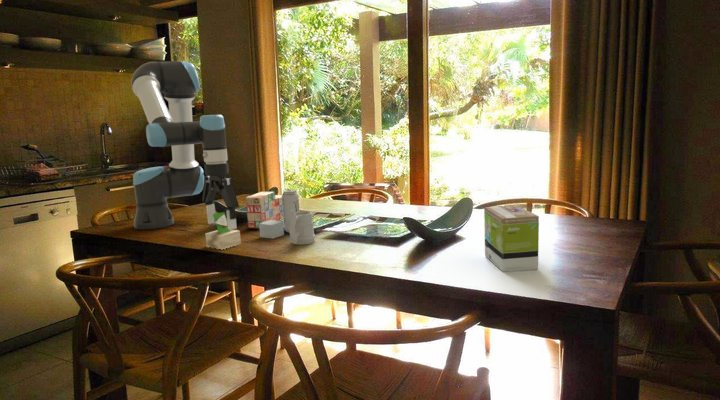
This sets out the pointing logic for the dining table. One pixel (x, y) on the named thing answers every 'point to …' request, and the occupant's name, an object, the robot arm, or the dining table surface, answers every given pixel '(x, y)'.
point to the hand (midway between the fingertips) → (222, 226)
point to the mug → (301, 228)
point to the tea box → (511, 238)
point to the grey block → (271, 229)
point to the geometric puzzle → (221, 222)
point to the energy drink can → (289, 206)
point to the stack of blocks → (263, 208)
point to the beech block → (223, 239)
